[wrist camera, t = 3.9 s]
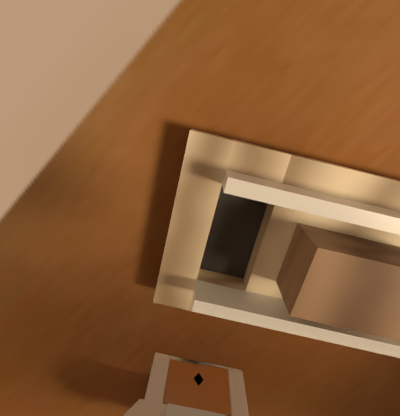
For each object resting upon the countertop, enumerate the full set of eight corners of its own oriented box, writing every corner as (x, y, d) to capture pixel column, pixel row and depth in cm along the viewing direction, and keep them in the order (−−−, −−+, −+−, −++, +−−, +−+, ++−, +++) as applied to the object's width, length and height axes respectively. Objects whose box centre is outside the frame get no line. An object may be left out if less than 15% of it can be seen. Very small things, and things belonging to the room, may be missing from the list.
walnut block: (402, 247, 20) (448, 278, 16) (373, 303, 21) (408, 343, 18) (297, 222, 20) (317, 247, 16) (275, 280, 21) (289, 316, 17)
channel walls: (486, 232, 19) (524, 248, 17) (418, 341, 22) (443, 367, 20) (226, 169, 19) (227, 177, 16) (193, 290, 22) (191, 311, 19)
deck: (622, 234, 21) (664, 246, 19) (515, 369, 25) (540, 389, 23) (191, 128, 20) (189, 130, 18) (157, 288, 24) (152, 302, 22)
